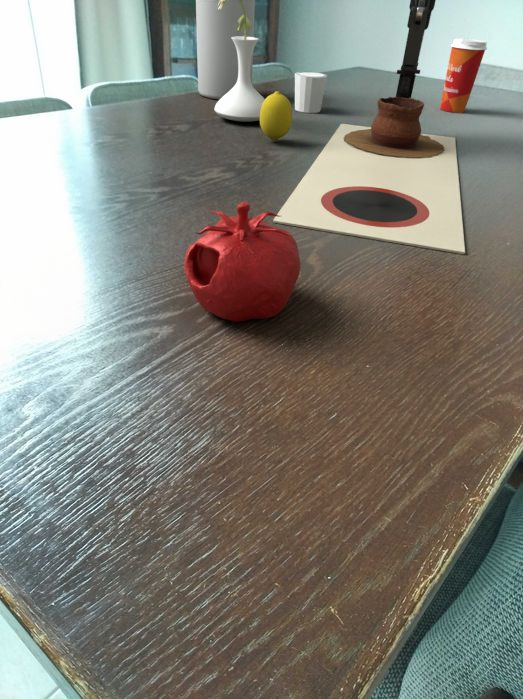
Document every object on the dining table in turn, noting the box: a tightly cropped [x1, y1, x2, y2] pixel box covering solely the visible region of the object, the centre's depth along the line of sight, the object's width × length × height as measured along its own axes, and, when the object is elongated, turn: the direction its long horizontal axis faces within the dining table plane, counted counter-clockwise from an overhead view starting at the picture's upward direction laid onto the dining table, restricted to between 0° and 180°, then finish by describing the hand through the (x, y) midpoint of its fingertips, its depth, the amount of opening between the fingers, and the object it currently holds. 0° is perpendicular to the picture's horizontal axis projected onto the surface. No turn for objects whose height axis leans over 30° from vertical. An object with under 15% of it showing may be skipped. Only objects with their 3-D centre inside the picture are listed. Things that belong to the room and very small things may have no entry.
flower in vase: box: [214, 0, 266, 123], centre depth 90 cm, size 13×11×25 cm
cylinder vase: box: [195, 0, 256, 101], centre depth 108 cm, size 12×12×25 cm
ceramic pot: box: [344, 96, 444, 158], centre depth 87 cm, size 18×18×7 cm
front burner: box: [321, 186, 430, 228], centre depth 64 cm, size 14×14×1 cm
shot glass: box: [294, 71, 328, 114], centre depth 106 cm, size 7×7×7 cm
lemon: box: [259, 90, 293, 143], centre depth 84 cm, size 6×6×8 cm
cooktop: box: [272, 123, 466, 255], centre depth 76 cm, size 22×52×1 cm, turn 164°
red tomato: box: [183, 201, 301, 323], centre depth 42 cm, size 10×10×9 cm
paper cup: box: [439, 38, 488, 114], centre depth 112 cm, size 8×8×14 cm
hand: (399, 113), depth 92 cm, fingers closed
